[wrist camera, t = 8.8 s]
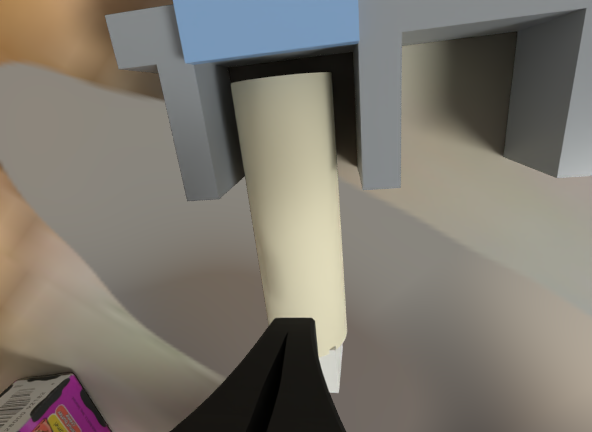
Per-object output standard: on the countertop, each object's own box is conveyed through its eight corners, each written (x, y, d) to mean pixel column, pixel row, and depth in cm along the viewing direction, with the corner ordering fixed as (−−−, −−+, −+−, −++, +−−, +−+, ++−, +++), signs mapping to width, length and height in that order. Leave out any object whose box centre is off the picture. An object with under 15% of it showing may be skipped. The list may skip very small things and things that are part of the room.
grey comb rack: (761, 137, 12) (959, 159, 8) (193, 179, 15) (144, 208, 11) (840, -71, 10) (1156, -174, 6) (161, 30, 13) (89, 4, 9)
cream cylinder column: (350, 342, 17) (347, 401, 14) (285, 339, 18) (267, 394, 15) (335, 74, 13) (326, 69, 10) (249, 85, 14) (213, 83, 10)
